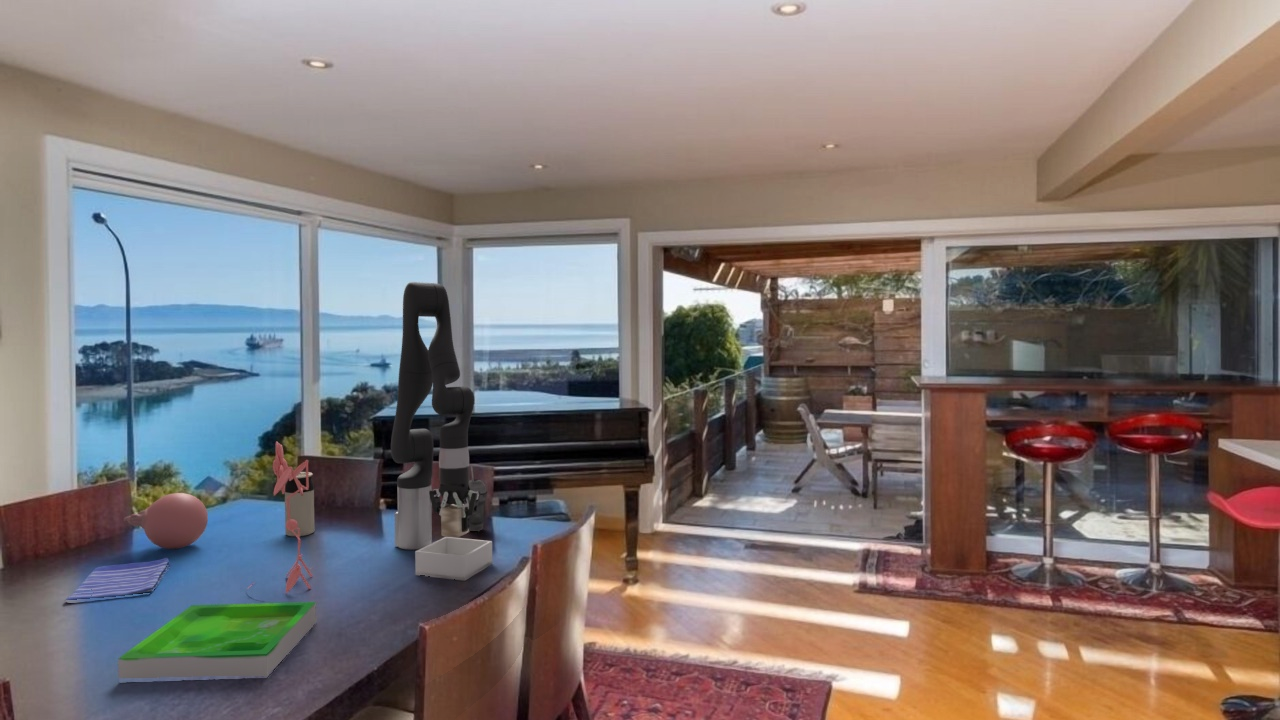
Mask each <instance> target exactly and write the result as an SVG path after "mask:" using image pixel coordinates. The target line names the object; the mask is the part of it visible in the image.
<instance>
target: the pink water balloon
mask: <svg viewBox="0 0 1280 720" xmlns="http://www.w3.org/2000/svg"><path fill="white" fill-rule="evenodd" d="M123 521H124V522H128V523H129V524H130V525H132V526H133V527H140V528H141V529H143V530H144V533H145V536H146V537H147V539H148V540H149V541H150V542H151V543H152V544H154V545H155V546H157V547H160V548H163V549H169V550H174V549H176V550H177V549H182V548H185V547H188V546H189V545H192V544H194V543H195V542H196V541H197V540H198V539H199V538H201V536H202V535H203V534H204V532H205V530H206V528H207V525H208V521H209V516H208V510H207V508H206V506H205V504H204V503H203V502H202V500H200V499H199V498H198V497H196V496H194V495H192V494H189V493H183V492H175V493H169V494H165V495H163V496H160V497H159V498H158V499H157V500H155V501H154V502H152V504H151V505H150V506H148V507H146V508H145V509H142V510H141V511H139V512H137V513H132V514H131V515H128V516H125V517H123Z"/></svg>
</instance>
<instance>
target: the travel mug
mask: <svg viewBox="0 0 1280 720" xmlns="http://www.w3.org/2000/svg"><path fill="white" fill-rule="evenodd" d="M313 475H314V473H312V472H310V471H308V480H309V488H308V490H306V489H304V490H303V496H301V494H300V492H298V493H296V494H295V495H293V496H292V497H291V498H289V509H290V519H294V520H296V521H297V523H298V527H297V528H299V529H300V537H306V536H309V535H312V534H313V533H314V532H315V488H314V487H315V486H314V482H313V480H312V478H313ZM289 478H290V477H289ZM296 478H297V479H298V480H299V482H300V483H301V485H303V486H305V487H306V471H301V472H300V473H299V474H298V475H297V476H296ZM297 490H299V489H298V487H297V485H296V482H295V480H294V478H293V479H292V480H291V481H289V479H288V481H287V482H286V484H285V493H284V511H285V512H284V515H285V516H284V524H285V525H284V527H285V528H284V530H285V533H284V534H285V535H286V536H288V537H293V538H295V537H296V536H295V535H294V534H293V532H292V531H289V530H287V528H286V522H287V521H288V520H289V518H288V510H287V502H286V499H287V497H288V496H290V495H291V494H293V493H294V492H296V491H297ZM293 531H294V532H295V534H296V535H297V536H298V529H295V530H293ZM296 538H297V537H296Z"/></svg>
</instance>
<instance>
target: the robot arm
mask: <svg viewBox="0 0 1280 720" xmlns="http://www.w3.org/2000/svg"><path fill="white" fill-rule="evenodd" d="M419 317H428V318H429V317H431V318H432V317H433V318H435V320H436V329H435V332H434V335H433V337H432V339H431V341H430V344H429V347H428V348H427V346H426V343H424V341H423V338H422V335H421V333H420V327H419V326H420V325H419ZM451 318H452V317H451V310H450V301H449V296H448V293H447V289H446V288H445V286H444V285H443V284H441V283H437V282H435V283H434V282H420V281H419V282H417V281H409V282H407V284H406V286H405V287H404V291H403V297H402V339H401V340H402V341H401V351H400V361H399V368H398V369H399V370H398V380H397V381H398V382H397V383H398V384H397V385H398V386H397V400H396V409H395V416H394V421H393V427H392V432H391V439H390V454H391V458H392V459H393V461H394V462H395V463H397V464H409V463H414V464H413V465H412V467H411V468H410V469H408V470H406V471H405V472H403V473H402V474H400V475H399V476H398V477H397V478H396V479H397V480H396V482H397V484H396V485H397V487H396V488H397V511H396V512H395V513H394V547H398V548H399V549H402V550H419V549H421V548H423V547H425V546H427V545H429V544H432V543H433V542H432V540H433V539H432V534H433V533H432V529H433V528H432V525H433V524H432V512H433V513H434V514H438V515H439V516H440V517H441V508H445V507H448V506H450V505H452V504H455V505H457V507H458V509H461V515H462V532H466V531H468V529H469V528H470V516H471V515H473V514H475V513H477V508H478V503H479V499H480V492H479V491H477V492H475V491H472V490H470V487H469V481H470V453H469V433H468V432H469V426H470V421H471V417H472V414H473V410H474V406H475V395H474V392H473V390H472V389H471V388H470V387H468V386H448V385H450V384H453V383H455V382H457V381H458V380H459V379H460V377H461V371H460V367H459V363H458V359H457V355H456V352H455V351H456V350H455V347H454V342H453V331H452V320H451ZM447 386H448V387H447ZM431 391H432V394H431V395H432V396H431V406H432V409H433V410H434V412H435V413H436V414H437V415H438V416H439V415H440V416H449V415H456V417H455V418H454V420H452V421H451V422H449V423H448V422H447V423H445V424H443V425H441V426H440V428H439V454H438V475H439V477H438V479H439V481H438V482H439V483H440V485H439V488H434V489H432V478H433V471H434V470H433V466H434V438H433V435H432V432H431V431H430V430H429V429H428V428H413V429H411V427H412V423H413V419H414V418H415V415H416V413H417V412H418V410H419V408H420V407H421V406H422V404H423V403H424V401H425V400H426V399H427V397H428V396H429V394H430V392H431ZM468 495H469V496H470V498H469V499H470V505H469V503H468V500H467V497H468ZM441 497H442V500H441Z"/></svg>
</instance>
